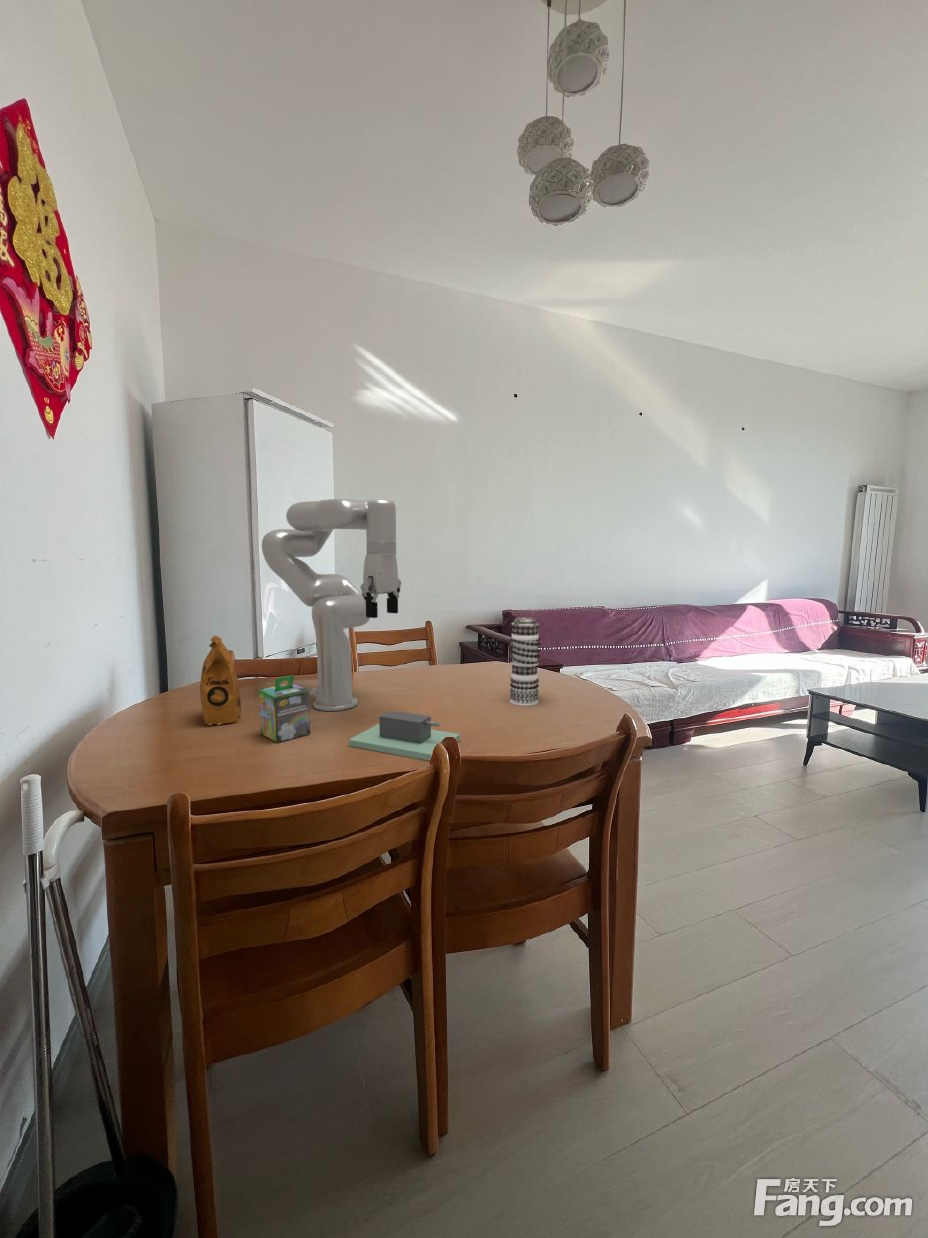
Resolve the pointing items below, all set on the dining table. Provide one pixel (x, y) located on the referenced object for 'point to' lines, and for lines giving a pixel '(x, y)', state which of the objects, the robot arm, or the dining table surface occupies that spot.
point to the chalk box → (284, 710)
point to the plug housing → (406, 726)
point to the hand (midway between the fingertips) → (382, 615)
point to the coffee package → (219, 686)
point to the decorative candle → (524, 662)
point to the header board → (399, 743)
